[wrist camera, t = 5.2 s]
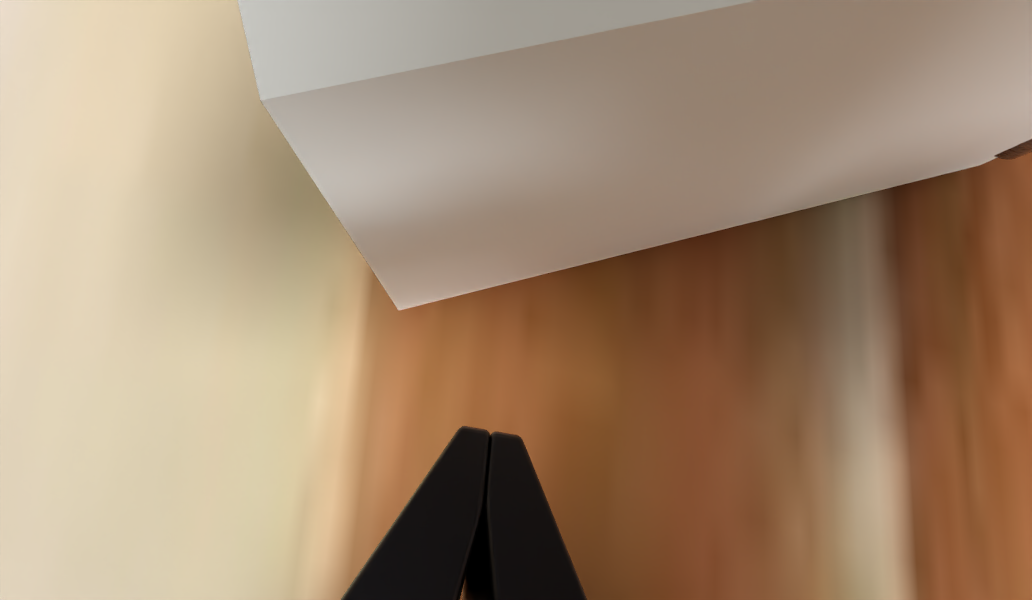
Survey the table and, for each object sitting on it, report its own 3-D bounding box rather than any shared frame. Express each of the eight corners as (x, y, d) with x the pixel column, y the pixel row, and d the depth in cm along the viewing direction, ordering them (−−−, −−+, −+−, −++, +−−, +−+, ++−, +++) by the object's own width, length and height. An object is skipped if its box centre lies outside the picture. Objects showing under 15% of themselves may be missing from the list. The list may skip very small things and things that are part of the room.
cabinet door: (1008, 165, 17) (1919, -216, 7) (400, 318, 15) (265, 127, 4) (987, 111, 18) (1838, -345, 7) (384, 254, 15) (219, -78, 5)
